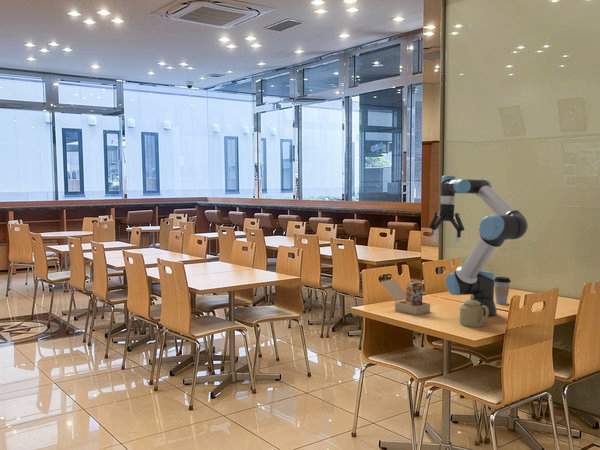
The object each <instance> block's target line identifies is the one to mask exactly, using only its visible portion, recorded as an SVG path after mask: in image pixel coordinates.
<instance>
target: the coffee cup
mask: <svg viewBox="0 0 600 450" xmlns="http://www.w3.org/2000/svg"><path fill="white" fill-rule="evenodd" d="M494 280H495V281H494V296H495V304H498V303H500V304H499V305H506V304H507V301H508V296H509V291H510V284H511V279H510V277H506V276H494Z"/></svg>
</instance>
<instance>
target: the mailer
mask: <svg viewBox="0 0 600 450" xmlns="http://www.w3.org/2000/svg"><path fill="white" fill-rule="evenodd" d="M398 311H399V312H398ZM394 312H398V313H404V314H409V315H413V314H414V316H418V315H423V314H427V313H431V302H430V303H428V302H424V301H422V305H420V306H412V305H407V304H406V299H405V300H400V301H395V303H394Z"/></svg>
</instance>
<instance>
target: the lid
mask: <svg viewBox="0 0 600 450" xmlns="http://www.w3.org/2000/svg"><path fill="white" fill-rule="evenodd" d="M380 283H381V285H382V286H383V287H384V289H385V290H386V291H387V293H388V294H389V296H390V297H391V299H392V300H393V301H394V302H395V303H396V302H400V301H405V300H406V293H405V291H404V289H403V288H402V287H401V286H400V285H399V283H398V281H397V279H395V278H392V279H386V280H381V281H380Z"/></svg>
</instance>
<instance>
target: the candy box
mask: <svg viewBox="0 0 600 450" xmlns="http://www.w3.org/2000/svg"><path fill="white" fill-rule="evenodd" d="M423 290H424V282H423V281H410V282H406V293H405V294H406V299H405V300H406V304H407V305H412V306H420V305H422V302H423V295H424V294H423V292H424V291H423Z"/></svg>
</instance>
